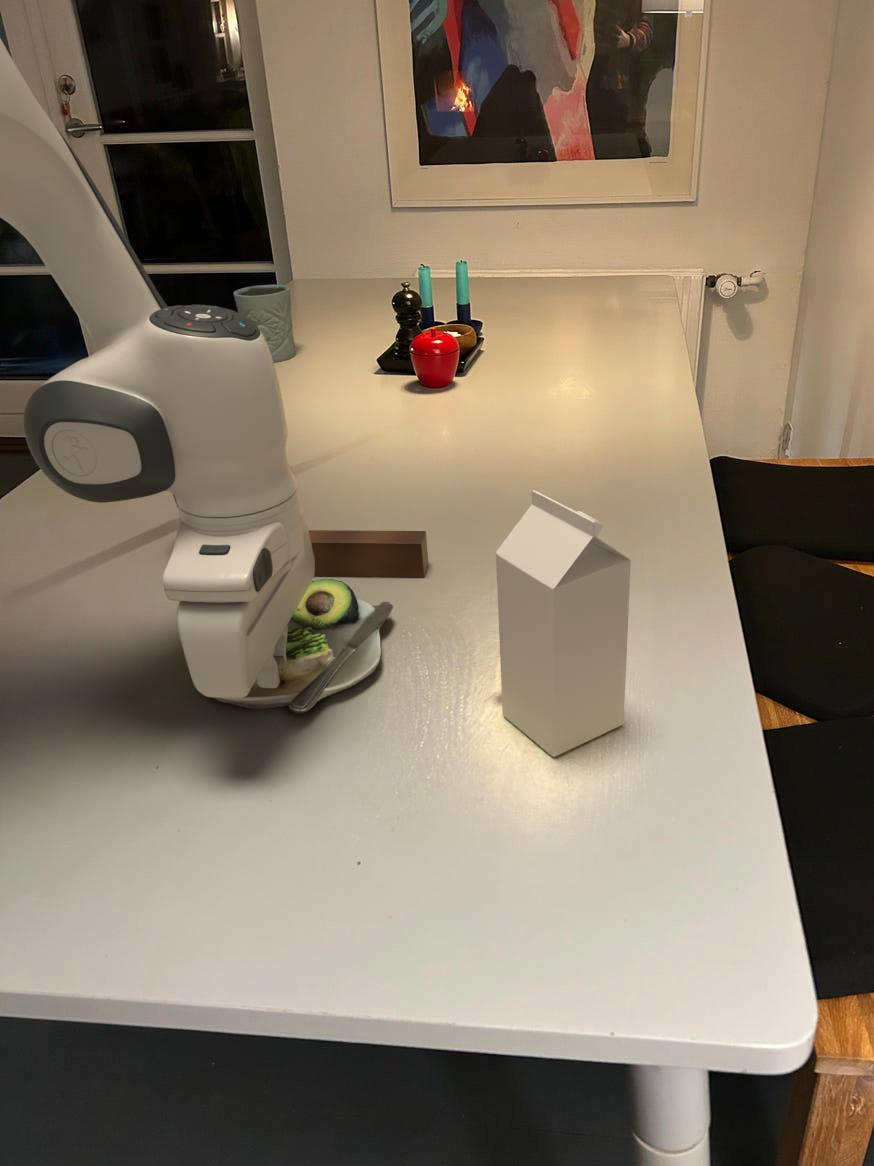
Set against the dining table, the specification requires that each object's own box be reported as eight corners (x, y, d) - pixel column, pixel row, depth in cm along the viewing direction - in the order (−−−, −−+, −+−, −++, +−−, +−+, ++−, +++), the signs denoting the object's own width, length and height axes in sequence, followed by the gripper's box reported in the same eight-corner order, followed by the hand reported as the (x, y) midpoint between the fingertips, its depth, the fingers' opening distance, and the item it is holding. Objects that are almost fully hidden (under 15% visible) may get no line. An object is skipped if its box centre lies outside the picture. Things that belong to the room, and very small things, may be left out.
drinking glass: (262, 367, 171) (251, 298, 165) (234, 357, 178) (222, 291, 171) (309, 355, 177) (300, 287, 171) (280, 346, 183) (270, 281, 177)
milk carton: (554, 759, 73) (552, 536, 63) (501, 715, 78) (492, 502, 68) (624, 726, 76) (633, 508, 66) (569, 686, 81) (570, 478, 71)
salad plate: (400, 718, 78) (395, 672, 76) (181, 740, 77) (169, 693, 75) (394, 604, 95) (389, 563, 92) (213, 621, 94) (204, 579, 91)
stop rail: (258, 575, 101) (252, 541, 99) (267, 562, 104) (261, 529, 102) (424, 577, 99) (421, 543, 97) (428, 564, 102) (425, 530, 100)
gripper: (249, 476, 81) (274, 615, 89) (150, 592, 64) (193, 752, 71) (320, 476, 81) (340, 616, 88) (240, 593, 63) (273, 755, 71)
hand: (273, 679), depth 79 cm, fingers closed
